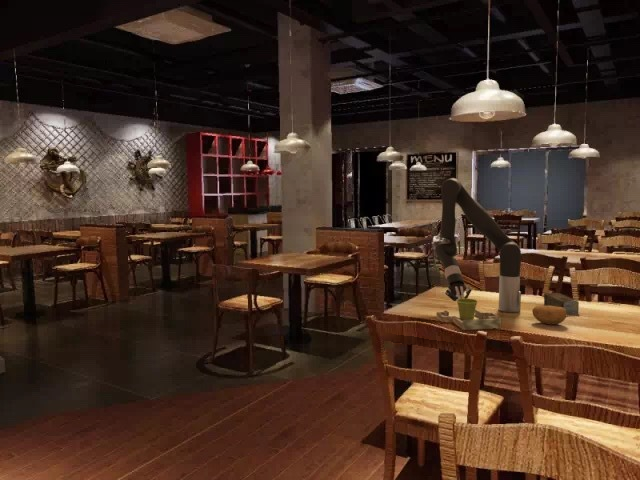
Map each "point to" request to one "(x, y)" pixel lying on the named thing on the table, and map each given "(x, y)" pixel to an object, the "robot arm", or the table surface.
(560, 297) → the beverage carton
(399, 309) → the table surface
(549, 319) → the potato
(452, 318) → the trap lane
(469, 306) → the plant pot
